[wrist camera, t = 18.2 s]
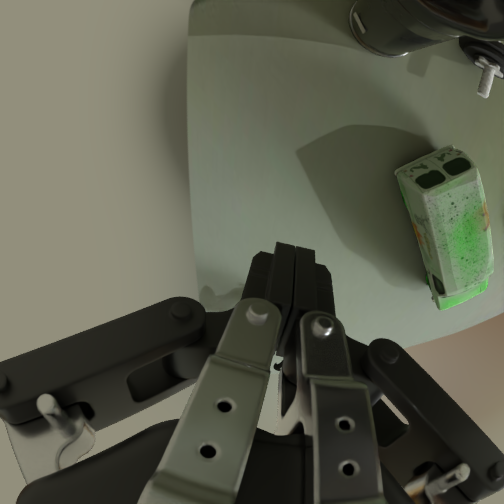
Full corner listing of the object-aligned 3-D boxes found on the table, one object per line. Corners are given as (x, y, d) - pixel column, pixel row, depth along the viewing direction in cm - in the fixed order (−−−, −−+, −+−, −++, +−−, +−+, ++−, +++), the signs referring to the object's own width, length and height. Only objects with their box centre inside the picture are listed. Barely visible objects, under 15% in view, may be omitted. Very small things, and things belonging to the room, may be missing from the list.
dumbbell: (486, 111, 27) (527, 121, 19) (436, 75, 27) (473, 73, 18) (508, 10, 16) (543, 3, 7) (460, -27, 16) (491, -44, 7)
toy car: (428, 294, 44) (446, 334, 36) (387, 167, 35) (411, 189, 27) (476, 271, 40) (500, 306, 32) (447, 139, 31) (484, 155, 23)
